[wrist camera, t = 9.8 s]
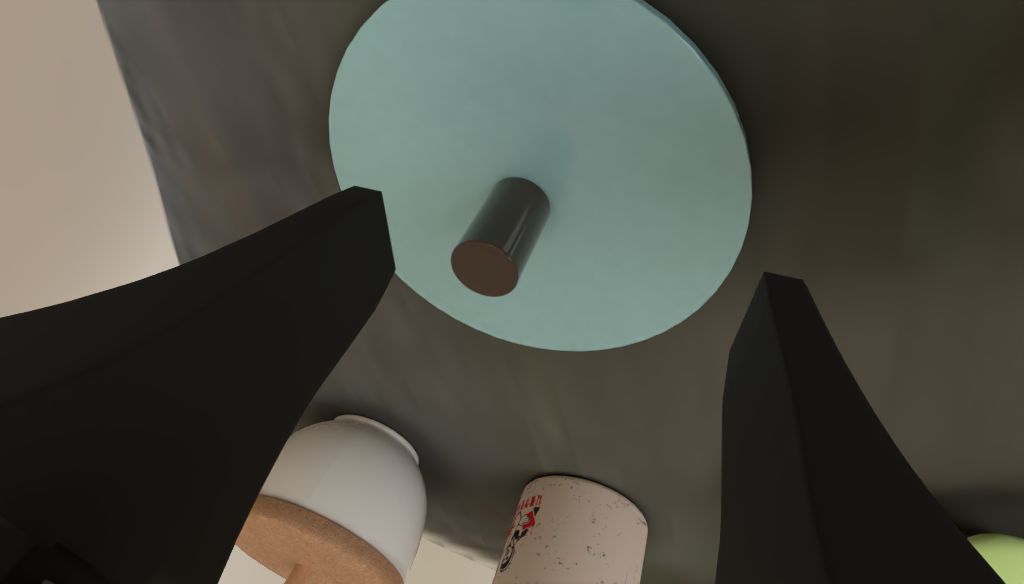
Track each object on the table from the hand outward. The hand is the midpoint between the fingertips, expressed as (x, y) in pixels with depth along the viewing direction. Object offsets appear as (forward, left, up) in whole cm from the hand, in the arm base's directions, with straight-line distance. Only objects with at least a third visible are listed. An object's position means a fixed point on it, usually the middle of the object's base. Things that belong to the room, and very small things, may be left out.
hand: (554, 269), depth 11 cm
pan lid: (+3, +5, -10) cm, 11 cm away
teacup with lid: (-2, +31, -10) cm, 33 cm away
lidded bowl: (+14, +30, -10) cm, 35 cm away
